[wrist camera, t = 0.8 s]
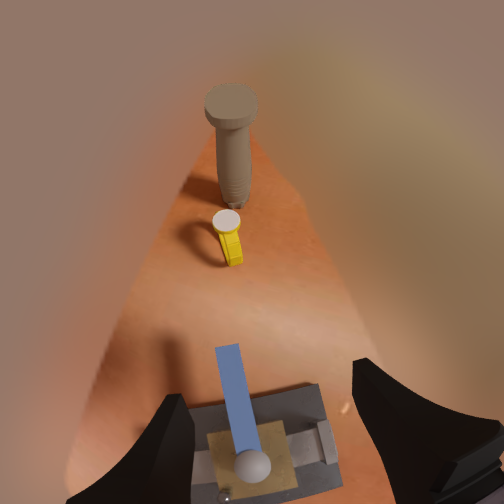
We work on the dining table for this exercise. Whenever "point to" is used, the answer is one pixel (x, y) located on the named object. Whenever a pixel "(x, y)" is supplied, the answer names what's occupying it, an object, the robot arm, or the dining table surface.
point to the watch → (229, 235)
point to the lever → (241, 417)
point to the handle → (232, 138)
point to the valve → (267, 451)
